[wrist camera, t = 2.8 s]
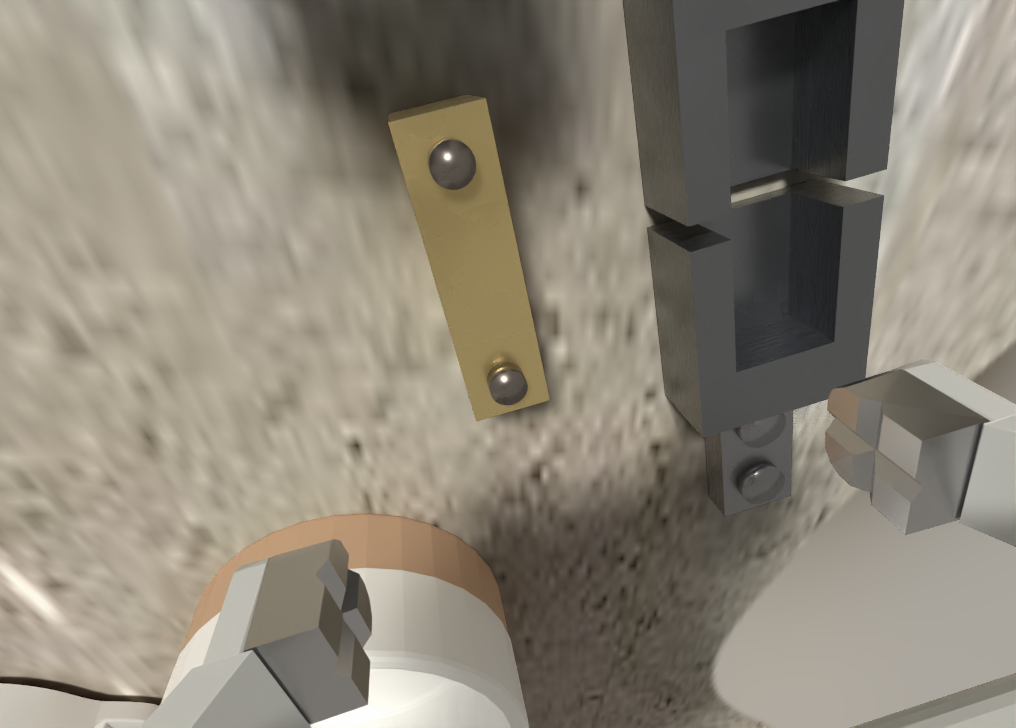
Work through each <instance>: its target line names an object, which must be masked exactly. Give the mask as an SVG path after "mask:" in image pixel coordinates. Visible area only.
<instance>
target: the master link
mask: <svg viewBox="0 0 1016 728" xmlns="http://www.w3.org/2000/svg"><path fill="white" fill-rule="evenodd" d="M388 125H389V128H390V131H391V135H392V138H393V141H394V145H395V148H396V152H397V155H398V158H399V162H400V165H401V168H402V172H403V175H404V179H405V182H406V185H407V189H408V192H409V195H410V199H411V202H412V206H413V209H414V212H415V216H416V219H417V222H418V226H419V229H420V233H421V236H422V239H423V243H424V246H425V249H426V253H427V256H428V260H429V263H430V266H431V270H432V273H433V276H434V280H435V283H436V287H437V290H438V293H439V297H440V300H441V303H442V307H443V310H444V314H445V317H446V320H447V324H448V327H449V330H450V334H451V337H452V341H453V344H454V347H455V351H456V354H457V357H458V361H459V364H460V368H461V371H462V374H463V378H464V381H465V384H466V388H467V391H468V395H469V398H470V401H471V405H472V408H473V411H474V415H475V418H476V421H480V420H483V419H487V418H490V417H493V416H497V415H500V414H504V413H507V412H511V411H514V410H518V409H521V408H525V407H528V406H531V405H535V404H538V403H542V402H545V401H549V400H550V399H549V394H548V389H547V385H546V380H545V375H544V370H543V366H542V361H541V356H540V351H539V347H538V342H537V337H536V333H535V328H534V323H533V318H532V314H531V309H530V304H529V300H528V295H527V290H526V285H525V281H524V276H523V271H522V266H521V262H520V257H519V252H518V248H517V243H516V238H515V233H514V229H513V224H512V219H511V214H510V210H509V205H508V200H507V196H506V191H505V186H504V181H503V177H502V172H501V167H500V163H499V158H498V153H497V148H496V144H495V139H494V134H493V129H492V125H491V120H490V115H489V111H488V106H487V101H486V98H483V97H478V96H472V95H467V94H466V95H462V96H458V97H454V98H450V99H446V100H442V101H438V102H434V103H430V104H426V105H422V106H418V107H414V108H410V109H406V110H402V111H398V112H394V113H390V114H389V115H388Z"/></svg>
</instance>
